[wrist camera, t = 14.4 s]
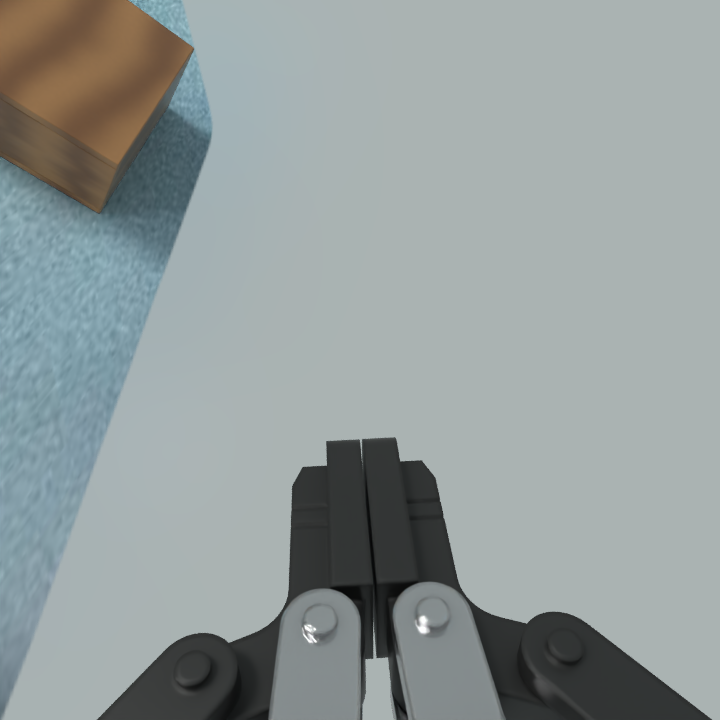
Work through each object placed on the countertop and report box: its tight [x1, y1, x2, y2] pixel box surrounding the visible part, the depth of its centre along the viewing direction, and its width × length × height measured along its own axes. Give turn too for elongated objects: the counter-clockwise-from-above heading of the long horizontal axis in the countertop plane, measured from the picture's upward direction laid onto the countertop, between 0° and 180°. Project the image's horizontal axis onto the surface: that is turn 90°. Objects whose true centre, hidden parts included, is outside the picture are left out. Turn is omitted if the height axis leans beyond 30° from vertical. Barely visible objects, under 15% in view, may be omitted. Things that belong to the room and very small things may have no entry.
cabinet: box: [0, 0, 194, 213], centre depth 49 cm, size 16×13×9 cm
